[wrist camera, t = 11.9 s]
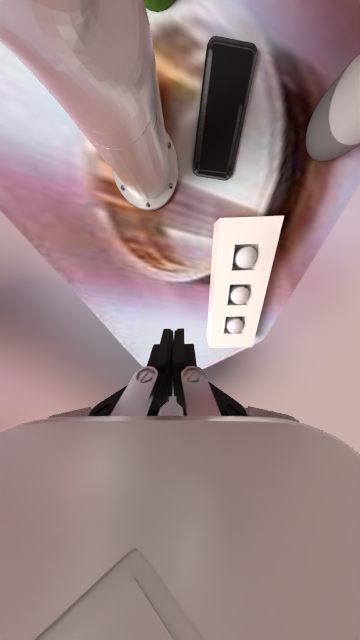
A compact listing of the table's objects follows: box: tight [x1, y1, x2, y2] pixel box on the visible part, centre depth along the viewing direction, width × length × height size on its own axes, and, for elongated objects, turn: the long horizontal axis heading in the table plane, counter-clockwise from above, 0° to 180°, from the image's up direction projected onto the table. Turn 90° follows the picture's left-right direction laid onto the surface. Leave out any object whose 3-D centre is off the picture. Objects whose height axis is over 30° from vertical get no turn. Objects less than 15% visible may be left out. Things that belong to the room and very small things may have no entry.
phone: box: [193, 36, 257, 180], centre depth 24 cm, size 8×1×15 cm
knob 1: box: [225, 317, 244, 333], centre depth 37 cm, size 4×4×4 cm
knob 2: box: [232, 247, 257, 268], centre depth 30 cm, size 4×4×4 cm
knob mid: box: [228, 284, 249, 304], centre depth 33 cm, size 4×4×4 cm
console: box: [207, 216, 284, 348], centre depth 34 cm, size 30×12×5 cm, turn 2°
